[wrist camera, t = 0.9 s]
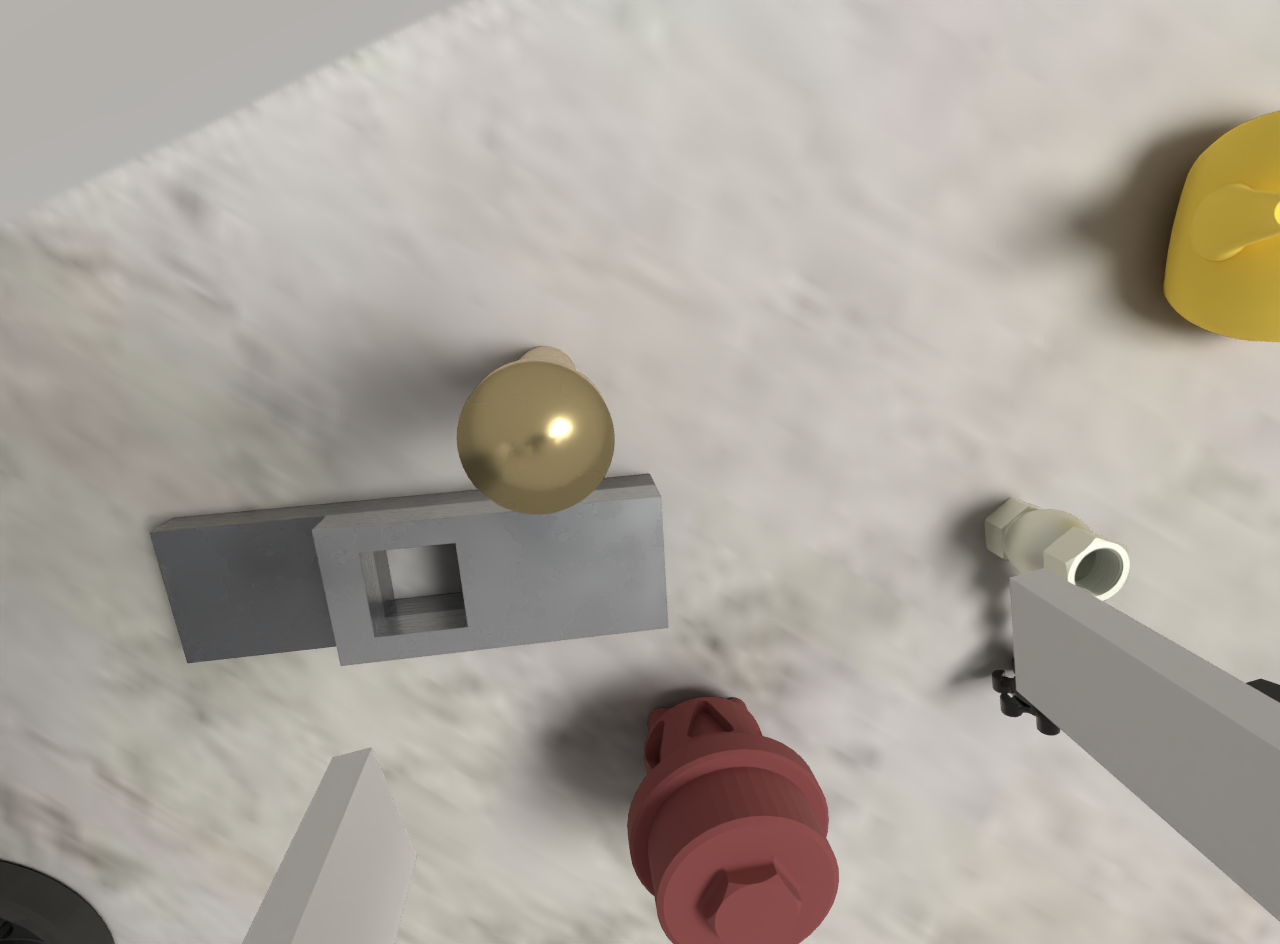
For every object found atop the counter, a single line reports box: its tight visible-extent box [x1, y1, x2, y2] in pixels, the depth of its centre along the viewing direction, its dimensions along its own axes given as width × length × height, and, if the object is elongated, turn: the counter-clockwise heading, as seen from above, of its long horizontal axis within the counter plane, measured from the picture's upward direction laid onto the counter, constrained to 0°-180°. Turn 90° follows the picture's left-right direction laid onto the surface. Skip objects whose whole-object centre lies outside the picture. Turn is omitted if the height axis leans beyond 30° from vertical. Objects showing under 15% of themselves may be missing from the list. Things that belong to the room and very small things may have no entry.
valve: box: [984, 498, 1130, 735], centre depth 36 cm, size 7×7×12 cm
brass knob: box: [457, 346, 614, 514], centre depth 26 cm, size 5×5×14 cm
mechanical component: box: [627, 697, 839, 944], centre depth 34 cm, size 12×10×10 cm
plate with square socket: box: [150, 474, 668, 666], centre depth 33 cm, size 24×7×4 cm, turn 93°
